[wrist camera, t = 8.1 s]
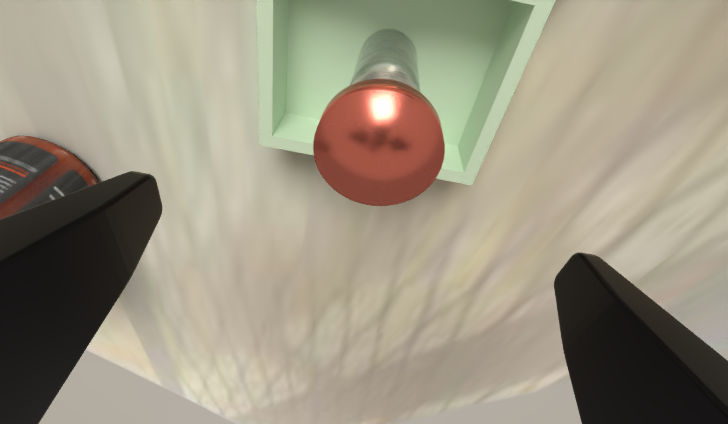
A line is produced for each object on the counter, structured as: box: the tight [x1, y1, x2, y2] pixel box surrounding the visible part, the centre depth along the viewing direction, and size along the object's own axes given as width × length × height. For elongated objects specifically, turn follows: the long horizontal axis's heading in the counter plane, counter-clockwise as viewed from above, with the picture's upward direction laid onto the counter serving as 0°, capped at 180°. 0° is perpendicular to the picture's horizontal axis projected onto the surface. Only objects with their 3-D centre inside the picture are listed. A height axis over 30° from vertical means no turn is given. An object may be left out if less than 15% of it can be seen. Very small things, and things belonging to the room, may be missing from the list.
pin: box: [313, 29, 445, 206], centre depth 13 cm, size 4×4×8 cm
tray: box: [256, 0, 556, 185], centre depth 16 cm, size 10×8×3 cm
